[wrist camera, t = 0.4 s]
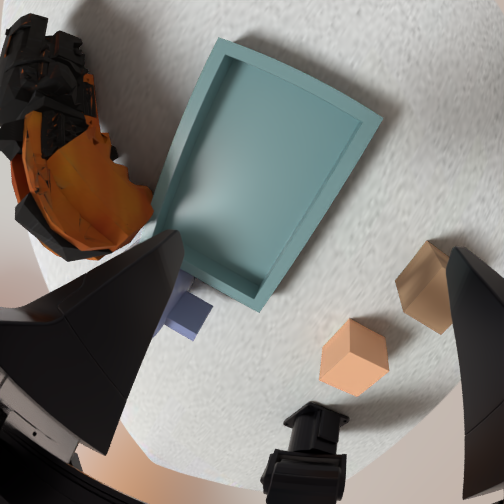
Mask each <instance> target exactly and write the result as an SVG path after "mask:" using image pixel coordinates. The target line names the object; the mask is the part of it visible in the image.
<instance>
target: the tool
mask: <svg viewBox="0 0 504 504" xmlns="http://www.w3.org/2000/svg"><path fill="white" fill-rule="evenodd" d="M47 23H48V18H46V17H42V16H39V15H35V14H31V13H29V14H27V15H25V16H22V17H21V18H20V19H18V20H17V21H16V22H15V23H14V24H13V25H12V26H11V28H9V29H6V33H5V35H7V36H6V38H5V42H4V45H3V48H2V52H1V56H0V127H1V128H0V151H2V152H3V153H4V154H5V155H6V157H7V158H8V159H9V160H10V163H11V177H12V185H13V188H14V192H15V195H16V198H17V202H18V205H17V206H16V207H15V220H16V221H17V222H18V223H20V224H21V225H22V226H23V227H24V228H25V229H27V230H28V231H29V232H30V233H31V234H33V235H34V236H35V237H36V238H37V239H38V240H39V241H40V242H41V244H42V245H43V246H44V247H45V248H47V249H48V250H49V251H51V252H52V253H54V254H55V255H56V256H59V257H62V258H63V259H64V260H66V261H67V262H70V261H75V260H81V259H88V260H98V261H99V260H100V259H101V258H103V257H104V256H105V255H108V254H111V253H113V252H114V251H116V250H118V249H119V248H122V247H123V246H125V245H127V244H128V243H130V242H131V241H132V240H133V238H134V237H135V236H136V234H137V233H138V232H139V230H140V229H141V228H142V227H143V226H144V225H145V224H146V223H147V222H148V220H149V219H150V218H151V216H152V215H153V212H154V210H153V208H152V206H151V202H152V199H153V194H152V191H151V190H150V189H149V188H148V187H147V186H142V185H135V184H133V183H132V182H130V181H129V175H128V168H127V167H126V166H124V165H120V164H115V163H114V162H113V161H114V160H115V159H116V158H118V154H117V151H116V148H115V147H114V146H113V145H111V141H110V137H109V133H101V132H100V125H99V119H98V112H97V105H96V97H95V88H94V79H93V75H91V74H87V72H88V69H84V57H85V54H82V53H81V50H80V49H79V47H80V46H81V45H82V44H83V43H82V40H81V39H80V38H78V37H75V36H73V35H70V34H68V33H65V32H63V31H60V30H59V31H57V32H56V33H55V34H54V35H53V36H45V34H46V28H47Z"/></svg>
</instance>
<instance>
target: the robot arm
mask: <svg viewBox="0 0 504 504" xmlns="http://www.w3.org/2000/svg"><path fill="white" fill-rule="evenodd" d="M184 254H185V250H184V246H183V242H182V238H181V234H180V232H179V231H178V230H176V229H167V230H165V231H163V232H161V233H159V234H157V235H155V236H153V237H151V238H149V239H147V240H145V241H144V242H142V243H140V244H138V245H136V246H134V247H132V248H130V249H129V250H127V251H125V252H123V253H121V254H119V255H117V256H116V257H114V258H112V259H110V260H108V261H106V262H105V263H103V264H101V265H99V266H97V267H96V268H94V269H92V270H90V271H89V272H87V273H85V274H83V275H81V276H80V277H78V278H76V279H74V280H73V281H71V282H69V283H67V284H65V285H64V286H62V287H60V288H58V289H56V290H54V291H52V292H50V293H48V294H46V295H44V296H42V297H41V298H39V299H37V300H35V301H33V302H31V303H29V304H27V305H25V306H22V307H18V308H3V307H0V504H148V503H145V502H143V501H141V500H138V499H136V498H134V497H131V496H129V495H127V494H125V493H122V492H120V491H118V490H116V489H114V488H112V487H110V486H108V485H106V484H104V483H102V482H100V481H98V480H96V479H94V478H92V477H90V476H89V475H87V474H85V473H83V470H82V467H81V464H80V461H79V458H78V454H77V453H75V450H76V448H77V446H78V444H79V443H81V444H83V445H85V446H86V447H89V448H90V449H92V450H94V451H96V452H98V453H100V454H102V455H104V456H106V454H107V452H108V449H109V447H110V444H111V441H112V439H113V436H114V433H115V430H116V427H117V425H118V422H119V420H120V417H121V414H122V412H123V409H124V407H125V404H126V401H127V398H128V396H129V393H130V391H131V388H132V386H133V383H134V381H135V378H136V376H137V373H138V371H139V368H140V366H141V363H142V361H143V359H144V356H145V354H146V351H147V349H148V347H149V344H150V342H151V340H152V337H153V335H154V333H155V330H156V328H157V326H158V323H159V321H160V319H161V317H162V314H163V312H164V310H165V308H166V305H167V303H168V301H169V299H170V296H171V294H172V291H173V289H174V286H175V283H176V280H177V277H178V273H179V270H180V267H181V264H182V262H183V259H184ZM446 279H447V287H448V294H449V303H450V312H451V318H452V323H453V328H454V334H455V339H456V346H457V352H458V359H459V366H460V374H461V383H462V394H463V406H464V424H465V425H464V427H465V435H466V436H465V460H464V461H465V462H464V463H465V464H464V484H463V500H464V499H469V498H473V497H477V496H481V495H484V494H488V493H491V492H495V491H498V490H501V489H504V278H503V277H502V276H500V275H499V274H498V273H497V272H496V271H494V270H493V269H492V268H491V267H490V266H488V265H487V264H486V263H485V262H483V261H482V260H481V259H480V258H478V257H477V256H476V255H475V254H473V253H472V252H471V251H469V250H468V249H467V248H465V247H459V246H455V247H453V249H452V251H451V254H450V257H449V260H448V263H447V266H446ZM348 422H349V418H348V417H346V416H344V415H341V414H338V413H336V412H333V411H331V410H328V409H326V408H323V407H321V406H318V405H316V404H314V403H307V404H306V405H304V406H303V407H302V408H301V409H299V410H298V411H297V412H295V413H294V414H293V415H291V416H290V417H289V418H287V419H286V420H285V421H284V423H283V424H284V425H285V426H287V427H290V428H292V434H291V438H290V443H289V448H288V451H283V450H279V449H275V451H274V453H273V454H270V457H269V460H268V464H267V467H266V469H265V471H264V473H263V475H262V477H261V480H260V482H261V483H262V484H263V489H264V491H263V492H264V494H267V498H266V503H267V504H336V501H340V500H341V499H342V496H343V492H344V487H345V480H346V458H347V454H342V455H336V451H337V443H338V441H339V430H340V427H342V426H343V425H345V424H346V423H348ZM493 504H504V499H503V500H501V501H498V502H495V503H493Z"/></svg>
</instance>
